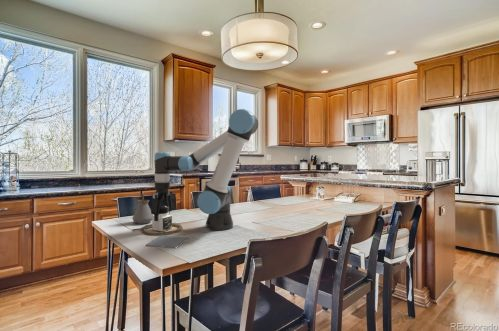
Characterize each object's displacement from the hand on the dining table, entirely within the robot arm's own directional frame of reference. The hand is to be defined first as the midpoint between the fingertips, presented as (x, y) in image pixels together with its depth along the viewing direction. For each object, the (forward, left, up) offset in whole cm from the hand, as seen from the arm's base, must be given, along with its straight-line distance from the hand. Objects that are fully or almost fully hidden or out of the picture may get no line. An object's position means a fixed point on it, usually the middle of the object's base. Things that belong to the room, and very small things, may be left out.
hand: (162, 225), depth 147 cm
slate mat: (-12, +19, -2) cm, 22 cm away
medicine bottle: (0, 0, -2) cm, 2 cm away
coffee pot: (+20, -17, -3) cm, 27 cm away
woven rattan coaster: (0, 0, -2) cm, 2 cm away
